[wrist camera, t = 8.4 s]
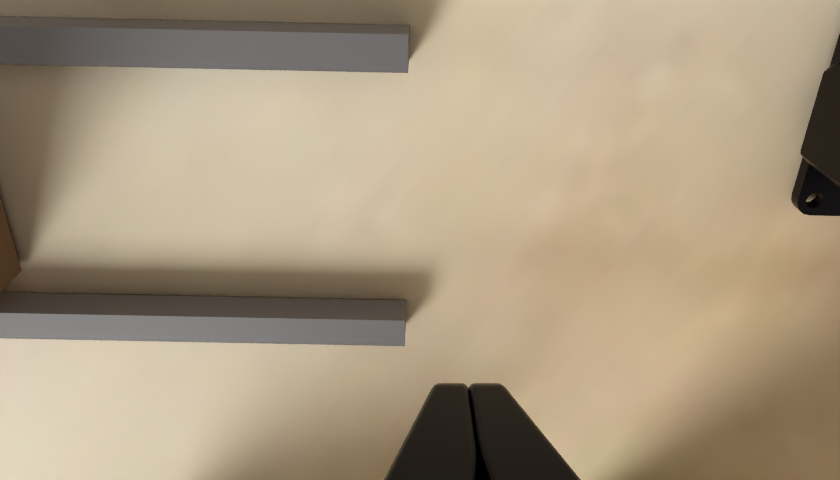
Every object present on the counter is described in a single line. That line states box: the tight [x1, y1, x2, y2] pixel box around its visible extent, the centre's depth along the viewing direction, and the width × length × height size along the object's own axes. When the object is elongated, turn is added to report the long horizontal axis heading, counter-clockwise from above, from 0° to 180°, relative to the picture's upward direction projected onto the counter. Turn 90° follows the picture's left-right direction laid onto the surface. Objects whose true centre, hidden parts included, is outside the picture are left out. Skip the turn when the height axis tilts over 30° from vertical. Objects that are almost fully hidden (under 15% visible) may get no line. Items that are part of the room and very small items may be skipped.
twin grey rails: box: [0, 16, 409, 346], centre depth 20 cm, size 18×10×3 cm, turn 89°
